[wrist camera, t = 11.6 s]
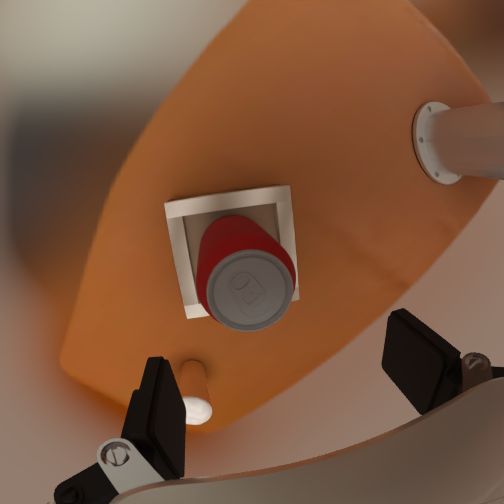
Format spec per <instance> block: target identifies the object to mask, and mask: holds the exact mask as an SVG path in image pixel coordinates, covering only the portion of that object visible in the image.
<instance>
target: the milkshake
mask: <svg viewBox="0 0 504 504" xmlns="http://www.w3.org/2000/svg"><path fill="white" fill-rule="evenodd" d="M177 385H178V388H179V391H180V393H181V396H182V398H183V401H184V404H185V407H186V423H187V424H193V425H198V424H202V423H204V422H205V421H207V420H208V419H209V418H210V417H211V414H212V407H211V402H210V398H209V393H208V389H207V382H206V375H205V369H204V365H203V364H201V363H200V362H199V361H195V360H189V361H186V362H184V363H183V365H182V366H181V369H180V373H179V378H178V383H177Z"/></svg>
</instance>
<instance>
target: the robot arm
mask: <svg viewBox="0 0 504 504" xmlns="http://www.w3.org/2000/svg"><path fill="white" fill-rule="evenodd" d="M413 143H414V148H415V152H416V155H417V158H418V160H419V162H420V164H421V166H422V168H423V170H424V171H425V173H426V174H427V175H428V176H429V177H430V178H431V179H432V180H434V181H435V182H437V183H440V184H453V183H455V182H457V181H458V180H459V179H460V178H461V177H462V175H464V176H475V177H484V178H493V179H501V180H504V102H497V103H488V104H480V105H473V106H466V107H460V108H454V109H451V108H450V107H448V106H447V105H445V104H443V103H441V102H435V101H434V102H429V103H426V104H424V105H423V106H421V107H420V108H419V110H418V111H417V113H416V116H415V118H414V123H413ZM460 354H461V352H460V351H458V350H457V349H456V348H455V347H453V346H452V345H451V344H450V343H448V342H447V341H446V340H445V339H443V338H442V337H441V336H440V335H438V334H437V333H436V332H435V331H433V330H432V329H431V328H429V327H428V326H427V325H426V324H424V323H423V322H421V321H420V320H419V319H418V318H416V317H415V316H414V315H412V314H411V313H410V312H408V311H407V310H406V309H404V308H402V309H399V310H395V311H392V312H391V314H390V316H389V317H388V321H387V330H386V337H385V344H384V351H383V357H382V368H383V370H384V371H385V372H386V374H388V376H389V377H390V378H391V380H392V381H393V382H394V383H395V384H396V386H398V388H399V389H400V390H401V392H402V393H403V394H404V395H405V396H406V398H407V399H408V400H409V401H410V403H411V404H412V405H413V406H414V407H415V409H416V410H417V411H418V412H419V414H421V415H422V416H420V417H418V418H416V419H414V420H412V421H410V422H408V423H406V424H404V425H402V426H399V427H397V428H395V429H393V430H390V431H388V432H386V433H384V434H381V435H379V436H376V437H374V438H371V439H369V440H366V441H364V442H361V443H358V444H355V445H353V446H350V447H347V448H344V449H341V450H338V451H335V452H331V453H328V454H325V455H322V456H318V457H314V458H311V459H307V460H303V461H299V462H295V463H291V464H287V465H282V466H277V467H272V468H267V469H261V470H255V471H249V472H242V473H235V474H228V475H219V476H209V477H198V478H187V479H180V477H184V467H185V465H184V464H185V433H186V407H185V404H184V401H183V398H182V396H181V393H180V391H179V388H178V385H177V383H176V380H175V377H174V374H173V372H172V369H171V366H170V363H169V361H168V360H164V358H163V357H162V356H160V357H149V358H148V360H147V363H146V367H145V370H144V374H143V377H142V381H141V385H140V388H139V390H134V391H133V393H132V397H131V400H130V404H129V407H128V411H127V415H126V418H125V422H124V426H123V430H122V434H121V438H115V439H110V440H108V441H106V442H104V443H103V444H102V445H101V446H100V447H99V448H98V451H97V460H98V462H97V463H95V464H94V465H92V466H90V467H88V468H87V469H85V470H83V471H81V472H80V473H78V474H76V475H74V476H72V477H71V478H69V479H67V480H65V481H63V482H62V483H60V484H59V485H58V486H57V488H56V489H55V492H54V500H55V501H54V502H53V503H52V504H504V367H493V366H491V362H490V360H489V359H488V358H487V357H486V356H485V355H483V354H481V353H476V352H473V353H468V354H466V355H465V356H464V357H463V358H462V359H461V358H460ZM47 504H51V503H49V502H48V503H47Z"/></svg>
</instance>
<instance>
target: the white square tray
mask: <svg viewBox="0 0 504 504" xmlns="http://www.w3.org/2000/svg"><path fill="white" fill-rule="evenodd" d="M164 205H165V212H166V218H167V224H168V229H169V235H170V240H171V246H172V251H173V256H174V261H175V266H176V271H177V276H178V281H179V285H180V290H181V294H182V299H183V303H184V307H185V312H186V316H187V319H189V318H196V317H203V316H210V315H209V314H208V313H207V312H206V311H205V309H204V308H203V306H202V305H201V303H200V301H199V298H198V295H197V290H196V273H197V262H198V254H199V247H200V242H201V238H202V236H203V234H204V232H205V230H206V229H207V228H208V227H209V226H210V225H211V224H212V223H213V222H214V221H216V220H218V219H220V218H222V217H225V216H230V215H239V216H244V217H247V218H249V219H251V220H253V221H254V222H255V223H257V224H258V225H259V226H260V227H262V228H263V229H264V230H265V231H266V232H267V233H268V234H269V235H271V236H272V237H273V238H274V239H275V240H276V241H277V242H278V243H279V244H280V245H281V246H282V247H283V248H284V249H285V250H286V251H287V253H288V254H289V256H290V257H291V259H292V261H293V264H294V267H295V271H296V286H295V291H294V294H293V297H292V301H295V300H299V288H298V273H297V259H296V246H295V234H294V223H293V212H292V202H291V192H290V186H289V185H271V186H263V187H254V188H246V189H239V190H231V191H224V192H217V193H210V194H204V195H197V196H191V197H185V198H179V199H173V200H169V201H167V202H166V203H164Z"/></svg>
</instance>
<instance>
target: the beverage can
mask: <svg viewBox="0 0 504 504" xmlns="http://www.w3.org/2000/svg"><path fill="white" fill-rule="evenodd" d="M295 286H296V271H295V267H294V264H293V261H292V259H291V257H290V256H289V254H288V253H287V251H286V250H285V249H284V248H283V247H282V246H281V245H280V244H279V243H278V242H277V241H276V240H275V239H274V238H273V237H272V236H271V235H269V234H268V233H267V232H266V231H265V230H264V229H263V228H262V227H260V226H259V225H258V224H257V223H255V222H254V221H253V220H251V219H249V218H247V217H244V216H239V215H230V216H225V217H222V218H220V219H218V220H216V221H214V222H213V223H212V224H211V225H210V226H209V227H208V228H207V229H206V230H205V232H204V234H203V236H202V238H201V242H200V247H199V254H198V262H197V273H196V290H197V295H198V298H199V301H200V303H201V305H202V306H203V308H204V309H205V311H206V312H207V313H208V314H209V315H210V316H211V317H212V318H214V319H215V320H216V321H218V322H220V323H221V324H223V325H225V326H226V327H228V328H230V329H233V330H236V331H242V332H253V331H259V330H262V329H265V328H267V327H269V326H271V325H273V324H274V323H276V322H277V321H278V320H279V319H280V318H281V317H282V316H283V315H284V314H285V313H286V311H287V310H288V308H289V306H290V304H291V301H292V297H293V294H294V291H295Z"/></svg>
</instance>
